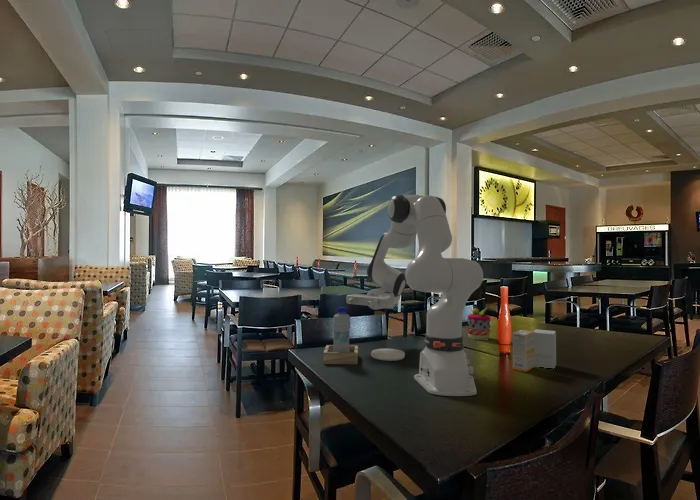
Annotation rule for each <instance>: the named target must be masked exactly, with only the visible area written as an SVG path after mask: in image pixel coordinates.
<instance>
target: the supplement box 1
mask: <svg viewBox="0 0 700 500" xmlns="http://www.w3.org/2000/svg"><path fill="white" fill-rule="evenodd" d="M532 368H533V369H534V368H536V367H535V332H534V330H533V331H532V330H527V329H520V330H517V331H514V332H512V370H514V371H517V372H522V371H523V373H527V372H529V371H531V370H533V369H532Z"/></svg>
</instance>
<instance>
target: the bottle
mask: <svg viewBox="0 0 700 500" xmlns="http://www.w3.org/2000/svg"><path fill="white" fill-rule="evenodd" d="M332 321H333V322H332V328H333V344H332V345H333V352H350V349H349V345H350V328H351V318H350V315H349V314H348V313H347V308H346V307H345V306H339V307H337V312H336V314H334V315H333V318H332Z"/></svg>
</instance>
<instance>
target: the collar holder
mask: <svg viewBox="0 0 700 500" xmlns="http://www.w3.org/2000/svg"><path fill="white" fill-rule="evenodd" d="M333 345H334V344H326V346H325V347H324V350H323V353H322V355H323V360H322V361H323V362H322V363H323V365H358V360H359V359H358V358H359V357H358V355H359V345H354V344H351V345H350V344H349V349H350V352H333Z"/></svg>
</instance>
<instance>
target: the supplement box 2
mask: <svg viewBox="0 0 700 500" xmlns="http://www.w3.org/2000/svg"><path fill="white" fill-rule="evenodd" d="M533 331H534V332H535V367H534V368H539V367H544V368H543V369H546V368H553V369H554V368H555V369H556V367H557V332H556V330H548V329H540V328H539V329H537V328H536V329H533ZM555 366H556V367H555ZM553 369H552V370H553ZM555 369H554V370H555Z"/></svg>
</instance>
